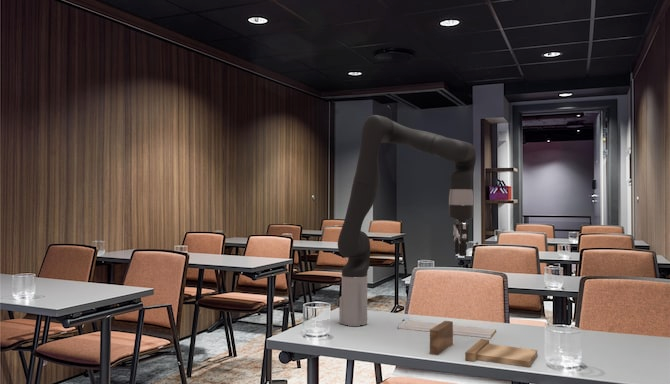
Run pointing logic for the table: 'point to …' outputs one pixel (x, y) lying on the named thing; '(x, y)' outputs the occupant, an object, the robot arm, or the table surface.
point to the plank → (441, 337)
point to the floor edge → (500, 354)
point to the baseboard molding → (456, 329)
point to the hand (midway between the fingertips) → (460, 254)
